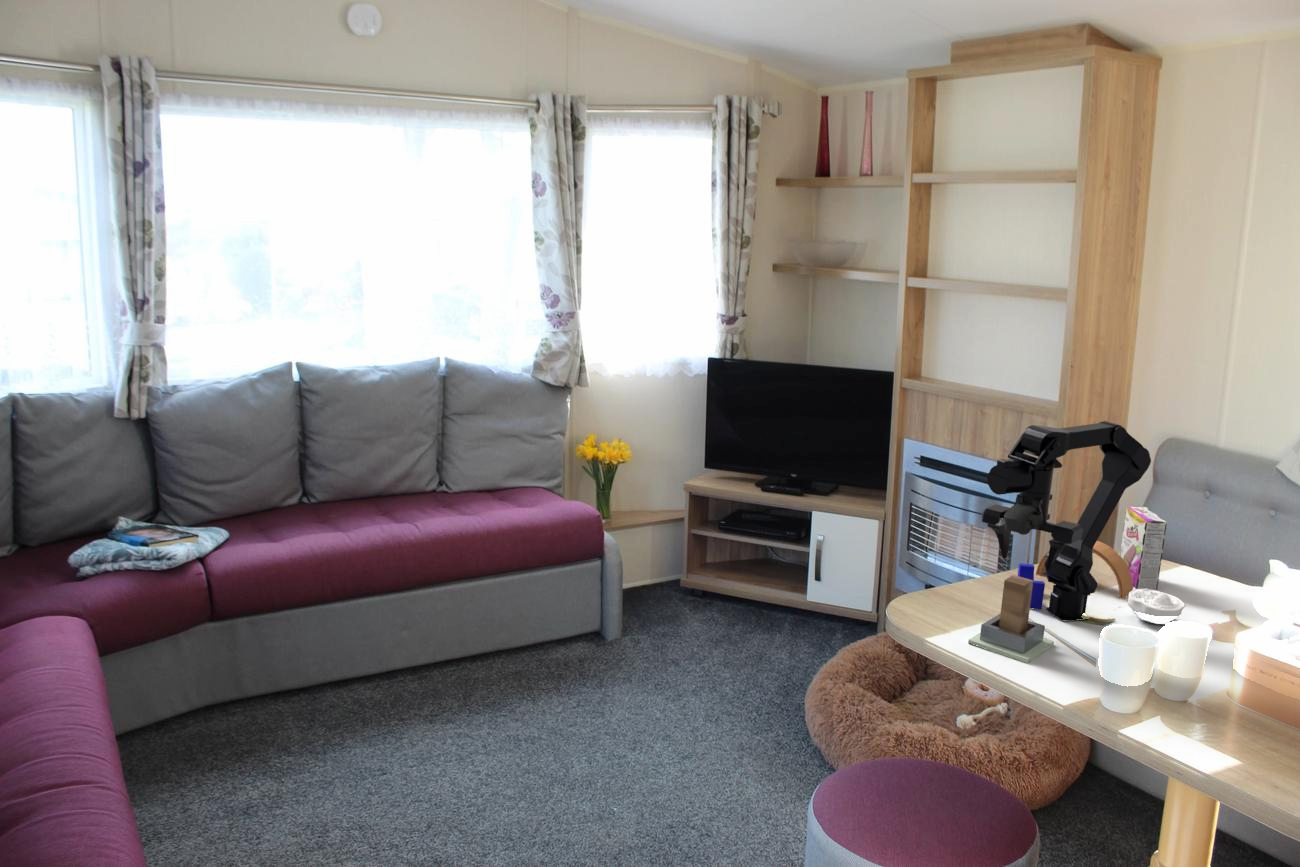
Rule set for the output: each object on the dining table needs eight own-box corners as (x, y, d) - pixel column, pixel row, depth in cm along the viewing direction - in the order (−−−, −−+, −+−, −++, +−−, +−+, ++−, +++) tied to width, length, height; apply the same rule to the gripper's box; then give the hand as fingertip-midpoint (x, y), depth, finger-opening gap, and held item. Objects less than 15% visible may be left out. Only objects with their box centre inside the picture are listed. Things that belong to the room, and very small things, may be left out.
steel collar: (1000, 627, 220) (1001, 612, 220) (1043, 640, 215) (1045, 625, 214) (979, 639, 214) (981, 624, 213) (1023, 654, 208) (1025, 638, 207)
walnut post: (1006, 634, 217) (1013, 574, 214) (1025, 640, 214) (1033, 580, 212) (997, 640, 214) (1004, 579, 211) (1016, 646, 212) (1024, 585, 209)
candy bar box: (1115, 572, 257) (1125, 505, 253) (1137, 573, 257) (1147, 506, 253) (1135, 590, 246) (1146, 520, 242) (1158, 591, 246) (1168, 521, 242)
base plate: (995, 626, 223) (996, 622, 223) (1053, 645, 215) (1054, 641, 215) (968, 643, 214) (968, 639, 214) (1027, 663, 206) (1027, 659, 206)
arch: (1046, 569, 258) (1051, 528, 256) (1132, 593, 245) (1138, 551, 242) (1035, 574, 254) (1040, 533, 252) (1122, 599, 240) (1128, 556, 238)
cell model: (1160, 609, 235) (1165, 580, 234) (1191, 632, 224) (1196, 601, 222) (1115, 609, 235) (1119, 579, 233) (1143, 632, 223) (1148, 601, 221)
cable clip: (1009, 588, 245) (1012, 562, 244) (1029, 589, 244) (1033, 564, 243) (1019, 608, 233) (1023, 582, 232) (1041, 610, 233) (1045, 583, 231)
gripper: (972, 486, 218) (964, 561, 222) (1065, 508, 206) (1054, 586, 210) (998, 477, 226) (989, 549, 230) (1088, 497, 214) (1078, 572, 218)
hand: (1026, 564), depth 222 cm, fingers open, 9 cm apart
